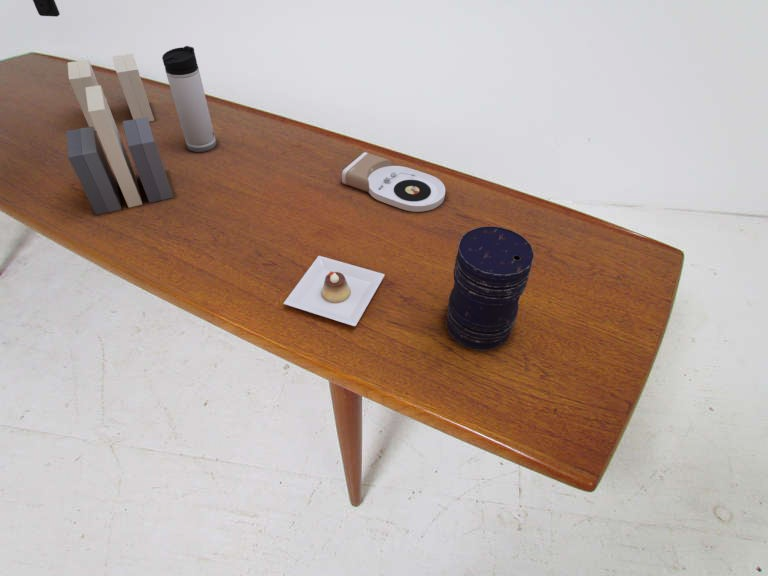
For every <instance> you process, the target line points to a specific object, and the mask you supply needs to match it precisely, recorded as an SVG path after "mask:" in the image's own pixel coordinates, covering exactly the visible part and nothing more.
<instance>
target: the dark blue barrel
mask: <svg viewBox="0 0 768 576" xmlns="http://www.w3.org/2000/svg"><path fill="white" fill-rule="evenodd" d="M534 258H535V252H534V248H533V247H532V245H531V244H530V241H528V240H527V239H526V238H525V237H524V236H523V235H521V234H519V233H518V232H515V231H513V230H511V229H508V228H505V227H500V226H492V225H490V226H489V225H488V226H479V227H475V228H473V229H470V230H468V231H467V232H466V233H464V234H463V235H462V236H461V238H460V240H459V242H458V248H457V254H456V257H455V262H454V268H453V272H452V273H453V281H454V283H453V288H452V289H451V291H450V294H449V295H448V303H447V309H446V310H447V314H446V321H445V323H446V328H447V331H448V333H449V335H450V336H451V338H452V339H453V340H455V342H457V344H459V345H462V346H463V347H465V348H468V349H471V350H474V351H491V350H495V349H498V348H500V347H501V346H503V345H504V344H505V343H506V342H507V341H508V340H509V338H510V335H511V331H512V329H513V327H514V325H515V323H516V319H517V317H518V314H519V301H520V299H521V296H522V295H523V294H524V292H525V290H526V288H527V284H528V281H529V277H530V275H531V274H530V273H531V269H532V268H531V267H532V266H533V262H534Z"/></svg>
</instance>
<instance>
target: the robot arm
mask: <svg viewBox="0 0 768 576" xmlns="http://www.w3.org/2000/svg"><path fill="white" fill-rule="evenodd" d="M32 2H33V5H34V7H35V9H36V11H37V13H38V15H39V16H41V17H59V16H60V15H61V14H60V13H61V12H60V11H59V9H58V8H59V7H58V6H57V3H56V1H55V0H32Z"/></svg>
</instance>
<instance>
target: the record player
mask: <svg viewBox="0 0 768 576" xmlns="http://www.w3.org/2000/svg"><path fill="white" fill-rule="evenodd" d="M341 182H342V184H344V185H347V186H349V187H352V188H355V189H358V190H361V191H363V192H366V193H368V194H369V195H370V196H371V197H372V198H373V199H375V200H376V201H378V202H381V203H384V204H386V205H390V206H392V207H395V208H397V209H401V210H404V211H408V212H412V213H413V212H414V213H421V212H427V211H432V210H434V209H437V208H438V207H440V206H441V205H442V204H443V202H444V201H445V196H446V186H445V184H444V182H442V181H441V180H440V179H439V178H438V177H436V176H435V175H431V174H429V173H426V172H423V171H421V170H416V169H413V168H411V167H407V166H402V165H393V162H392V160H390V159H388V158H385V157H382V156H378V155H376V154H372V153H369V152H366V151H364V152H362V153H361V154H360V155H359V156H358V157H357V158H356V159H355V160H353V161H352V162H351V163H350V164H349V165H347V166H346V167H345V168H344V169H343V170H342V173H341Z"/></svg>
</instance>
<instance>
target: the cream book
mask: <svg viewBox="0 0 768 576" xmlns="http://www.w3.org/2000/svg"><path fill="white" fill-rule="evenodd" d="M85 89H86V97H87V105H88V112H89V114H90V117H91V119H92V122H93V124H94V126H95V129H96V131H95V132H96V134H97V137H98V139H99V142H100V144H101V146H102V149H103V151H104V153H105V156H106V158H107V161H108V163H109V165H110V168H111V170H112V172H113V175H114V177H115V180H116V182H117V185H118V187H119V188H120V191H121V193H122V196H123V198H124V200H125V203H126V205H127V207H128V208H134V207H138V206H143V200H142V196H141V192H140V188H139V187H140V186H139V183H138V179H137V176H136V173H135V170H134V167H133V166H132V164H131V161H130V160H131V159H130V158H129V155H128V152H127V150H126V147H125V145H124V142H123V139H122V136H121V134H120V132H119V129H118V127H117V124H116V122H115V118H114V116H113V113H112V111H111V109H110V106H109V103H108V100H107V98H106V95H105V92H104V90H103V87H102V85H100V84H98V86H91V87H85Z"/></svg>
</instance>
